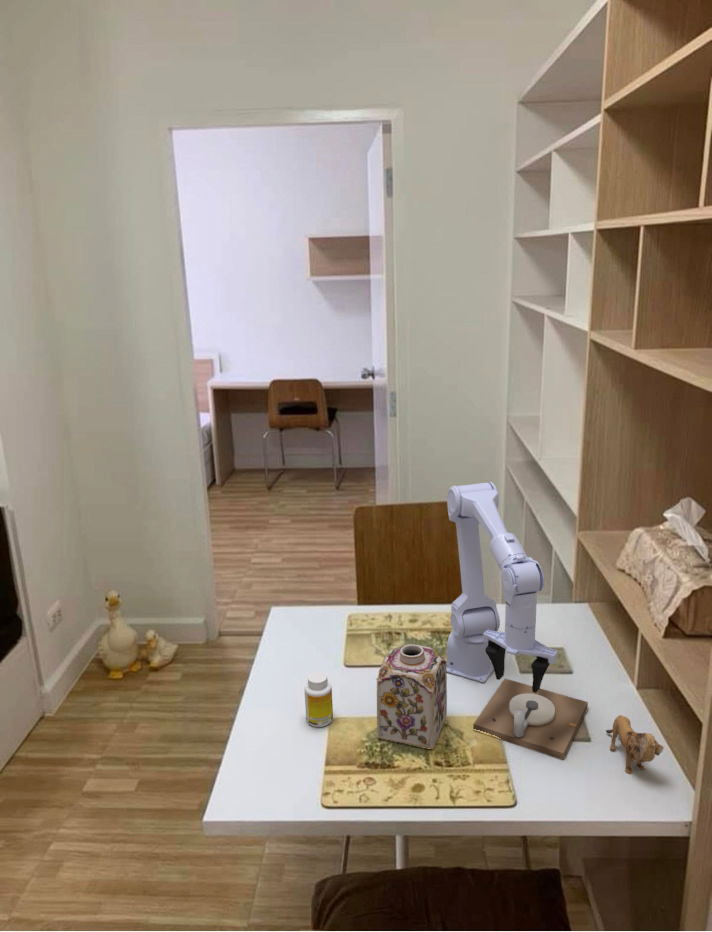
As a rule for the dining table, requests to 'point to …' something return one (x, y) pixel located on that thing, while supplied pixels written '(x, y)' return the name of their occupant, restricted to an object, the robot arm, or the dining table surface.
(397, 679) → the decorative jar
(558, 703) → the board
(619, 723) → the lion figurine
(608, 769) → the dining table surface
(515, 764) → the dining table surface
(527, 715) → the dial
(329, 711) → the supplement bottle
